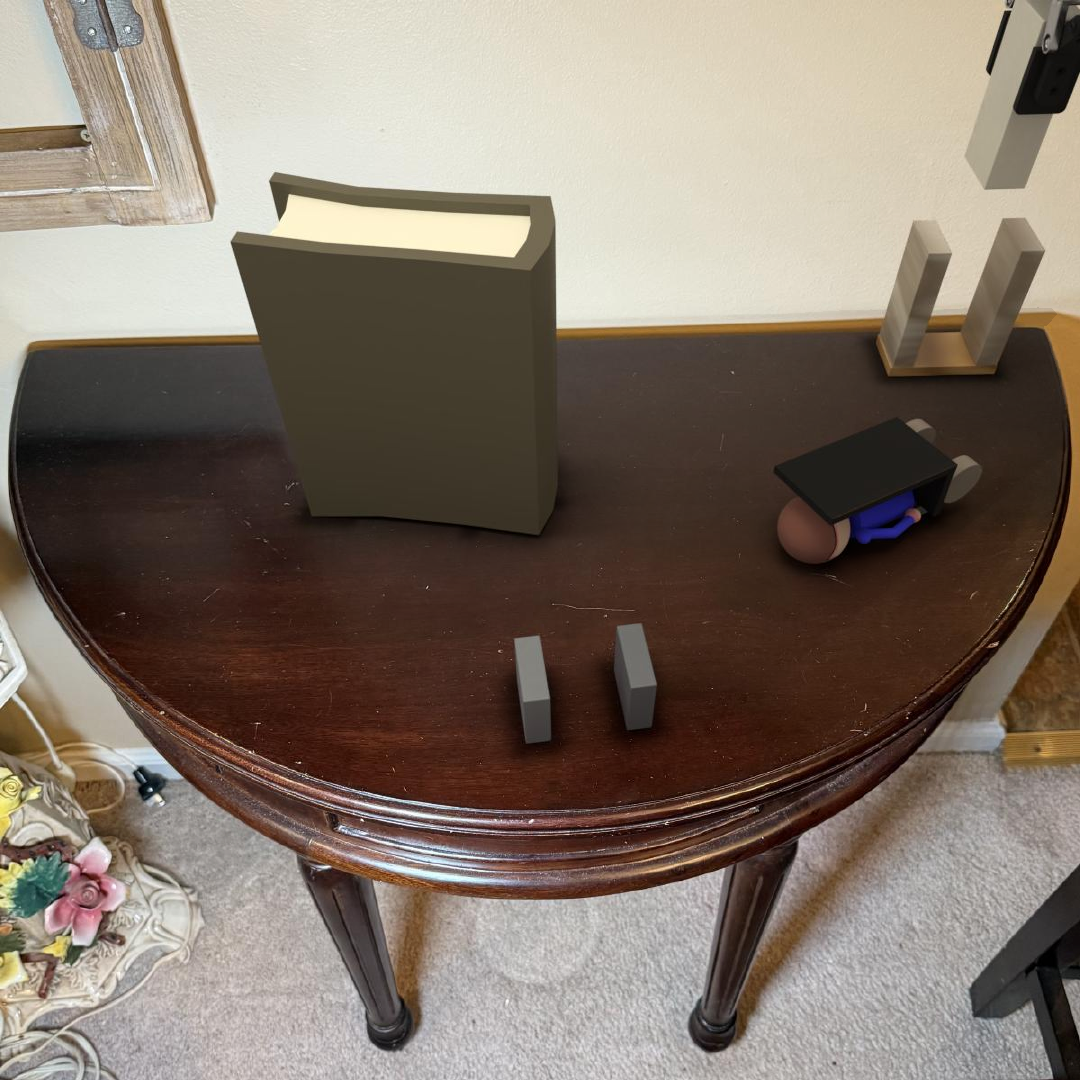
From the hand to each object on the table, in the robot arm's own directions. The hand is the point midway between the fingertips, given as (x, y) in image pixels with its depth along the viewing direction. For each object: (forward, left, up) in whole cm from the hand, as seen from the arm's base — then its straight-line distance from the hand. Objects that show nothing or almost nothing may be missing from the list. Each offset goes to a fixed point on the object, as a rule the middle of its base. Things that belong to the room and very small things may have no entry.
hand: (1024, 89), depth 64 cm
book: (+32, +27, -25) cm, 48 cm away
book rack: (-1, -3, -24) cm, 25 cm away
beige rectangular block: (0, 0, -6) cm, 6 cm away
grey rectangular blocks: (+15, +40, -24) cm, 49 cm away
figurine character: (+2, +18, -25) cm, 31 cm away
